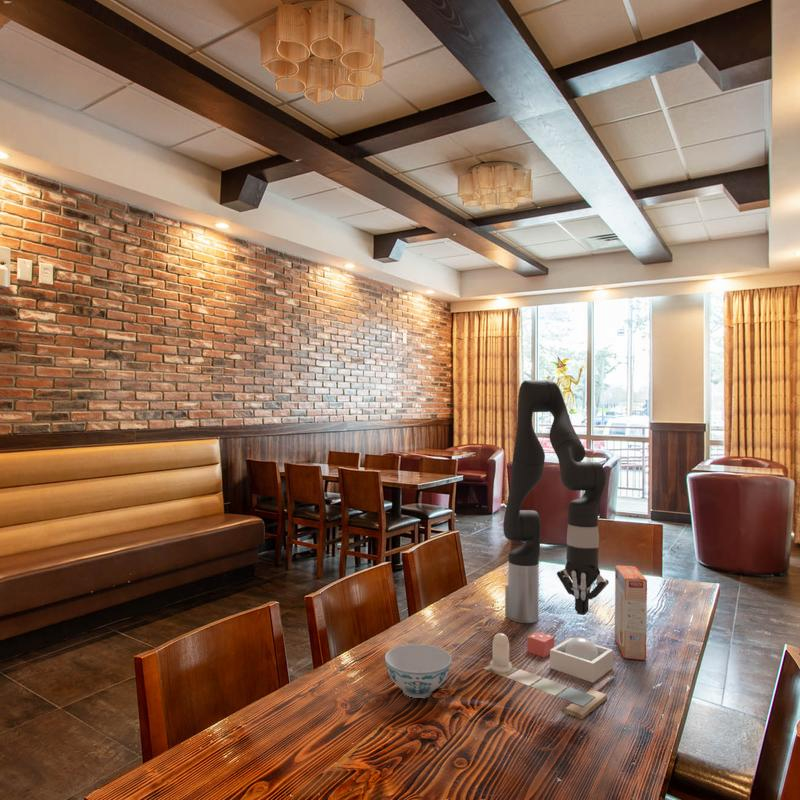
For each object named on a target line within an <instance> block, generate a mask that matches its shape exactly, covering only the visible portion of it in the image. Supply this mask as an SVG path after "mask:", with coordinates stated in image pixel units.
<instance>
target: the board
mask: <svg viewBox="0 0 800 800" xmlns="http://www.w3.org/2000/svg"><path fill="white" fill-rule="evenodd" d="M483 670H486V671H488V672H491V673H494V674H496V675H498V676H501V677H504V678H505V677H506V678H507V679H509V680H513V682H514V681H515V682H517V683H520V684H523V685H526V686H527V687H531V688H533V689H535V690H539V691H541V692H543V693H546V694H549V695H552V696H554V697H557V698H559V699H561V700H565V701H567V702H570V703H569V704H567V705H566V706H565V707H563V708H562V709H561V710H560V712H562V711H563V713H564V712H565V713H564V714H566V715H569V714H570V715H569V716H572V717H574V716H575V718H577V717H578V718H577V719H579V718H580V719H579V720H583V719H584V718H586V717H587V716H588V715H589V714H590V712H591V713H592V712H593V711H594V710H595V709H596V708H598V707H599V706H600V705H602V703H604V702H605V701H606V700H607V699H608V698H607V695H608V694H606V693H604V692H601V691H598V690H596V689H592V688H588V689H587V690H586V691H585V692H584V691H581V690H579V689H576V688H573V687H568V685H565V684H561V683H560V682H557V681H554V680H551V679H548V678H546V677H543V678H542V676H540V675H537V674H534V673H531V672H529V671H526V670H523V669H519V668H517V667H515V666H512V670H511V672H509V673H496V672H494V671H492V670H491V669H490V664H489V665H488V666H485V667H483ZM566 688H567V689H566ZM586 715H587V716H586ZM585 716H586V717H585Z"/></svg>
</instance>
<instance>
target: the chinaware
mask: <svg viewBox="0 0 800 800" xmlns="http://www.w3.org/2000/svg"><path fill="white" fill-rule="evenodd" d="M384 661H385V666H386V670H387V672H388V675H389V677H390V678H391V680H392V681H393V683H394V684H395V685H396V686H397V687H398V689H401V690H402V692H403V694H404V695H405V696H406V695H407V696H406V697H408V696H409V697H408V698H410V697H413V698H412V699H414V698H423V699H427V698H429V697H431V696H432V695H433V693H434V691H436V689H438V688H439V687H440V686H441V685H442V684H443V683H444V681H446V678H447V677H448V674H449V672H450V669H451V665H452V656H451V654H450V653H449V652H448V651H446V650H445V649H443V648H441V647H439V646H434V645H432V644H431V645H430V644H425V643H407V644H402V645H398V646H395V647H393V648H391V649H389V650H388V651H386V652H385V655H384ZM430 695H431V696H430ZM426 697H427V698H426Z"/></svg>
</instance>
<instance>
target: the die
mask: <svg viewBox="0 0 800 800" xmlns="http://www.w3.org/2000/svg"><path fill="white" fill-rule="evenodd" d="M526 637H527V638H526V641H527V642H526V645H527V649H526V650H527V651H526V652H527V653H530V654H533V655H536V656H539V657H543V658H546V657H548V656H550V650H551V649H552V648H554V647H555V636H554V635H549V634H546V633H543V632H540V631H536V632H534V633H532V634H530V635H528V636H526Z"/></svg>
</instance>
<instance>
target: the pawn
mask: <svg viewBox="0 0 800 800" xmlns="http://www.w3.org/2000/svg"><path fill="white" fill-rule="evenodd" d="M489 665H490V669H491V670H492V671H494V672H496V673H509V672H511V670H512V667H513V666H512V665H513V664H512V662H511V661H510V642H509V638H508V636H507V635H506V634H505V633H503V632H498V633H496V634H495V635H494V637H493V639H492V659H491V660H490V661H489ZM496 673H495V674H496Z"/></svg>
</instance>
